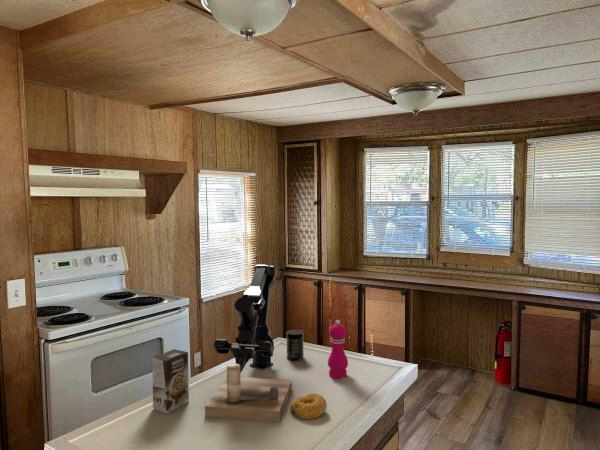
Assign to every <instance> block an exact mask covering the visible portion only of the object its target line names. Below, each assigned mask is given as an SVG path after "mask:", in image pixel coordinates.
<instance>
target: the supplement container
mask: <svg viewBox="0 0 600 450" xmlns="http://www.w3.org/2000/svg"><path fill="white" fill-rule="evenodd" d="M285 338H286V358H287V360H290V361H293V362H294V361H295V362H296V361H300V360H302V359H303V358H304V331H303V330H300V329H289V330H287V331H286V336H285Z"/></svg>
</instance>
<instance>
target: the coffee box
mask: <svg viewBox="0 0 600 450" xmlns="http://www.w3.org/2000/svg"><path fill="white" fill-rule="evenodd" d="M151 359H152V363H151V364H152V369H151V370H152V409H153V410H155V411H158V412H161V413H162V414H169V413H171V412H173V411H175V410H177V409H179V408H181V407H183V406H184V405H187V404H188V403H189V402H190V399H189V398H190V396H189V395H190V394H189V393H190V392H189V352H188V351H184V350H180V349H179V350H178V349H176V348H175V349H171V350H169V351H166V352H162V353H160V354H157V355H155V356H152V357H151Z"/></svg>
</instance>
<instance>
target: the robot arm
mask: <svg viewBox="0 0 600 450" xmlns="http://www.w3.org/2000/svg"><path fill="white" fill-rule="evenodd" d="M253 270H254V271H253V276H252V278H251V282H250V284H249V285H250V286H249V287H248V288H247V289H246V290H244V292H243V294H242V295H241V297H239V298H238V299H236V300H235V302H234V309H235V312H236V315H237V317H238V318H239V319H240V320H239V325H238V327H237V333H236V337H235V339H234V340H235V342H231V343H230V342H229V341H228V339H227V338H216V339H215V340H214V341H213V345H212V346H213V348H214V350H215V352H216V354H218V355H227V354H228V353H230V352H231V355H232V357H233V358H234V359H235V364H239V365H240V375H241V373H242V372H243V370H244V368H245V367H246V365H247V363H248V362H249V361H250V360H251V359H252V363H250V364H249V366H250V367H252V368H256V369H259V370H264V369H266V368H269V367H270V366H273V365H274V363H273V362H272V357H273V356H274V351H275V344H274V339H273V336H272V334H271V333H272V331H271V330H270V328H269V326H268V320H269V309H270V298H271V289H272V288H273V286H274V285H275V284H276V280H277V279H276V278H277V277H278V268H277V267H276V266H275V265H267V264H255V265H254V268H253Z"/></svg>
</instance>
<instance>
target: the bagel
mask: <svg viewBox="0 0 600 450" xmlns="http://www.w3.org/2000/svg"><path fill="white" fill-rule="evenodd" d="M327 406H328V404H327V401H326V399H325V397H323V395H321V394H319V393H309V394H307V395H304V396H300V397H299V396H298V398H296V399H295V400H293V402H292V403H291V404H290V407H289V408H290V411H291V412H292V413H294V414H295V415H296V416H297V418H300V419H303V420H314V419H316V418H318V417H320V416H322V415H323V414H324V413H325V412H326V410H327Z"/></svg>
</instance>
